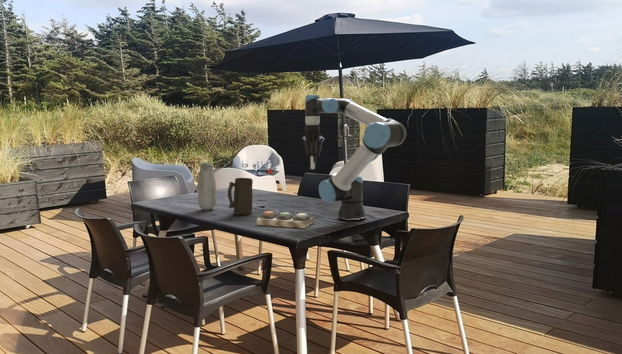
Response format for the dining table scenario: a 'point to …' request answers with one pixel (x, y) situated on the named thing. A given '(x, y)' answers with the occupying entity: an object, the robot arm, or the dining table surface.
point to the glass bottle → (206, 187)
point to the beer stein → (241, 196)
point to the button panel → (284, 221)
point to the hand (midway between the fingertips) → (312, 168)
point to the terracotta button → (269, 213)
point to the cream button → (301, 215)
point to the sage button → (285, 214)
